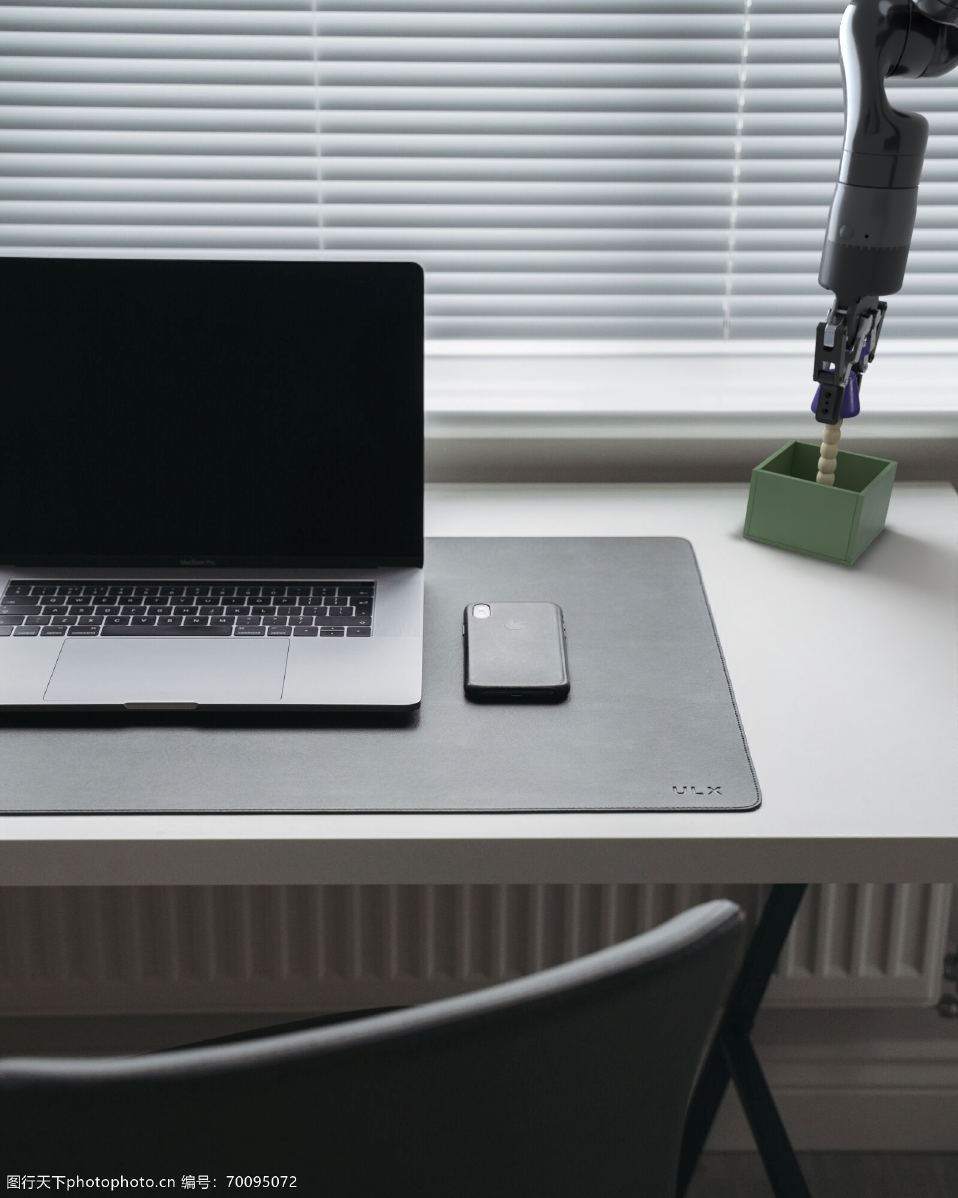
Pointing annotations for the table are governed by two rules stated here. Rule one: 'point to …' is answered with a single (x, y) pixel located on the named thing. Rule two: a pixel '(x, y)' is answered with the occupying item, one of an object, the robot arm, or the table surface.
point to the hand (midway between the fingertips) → (835, 414)
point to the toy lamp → (835, 430)
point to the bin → (819, 502)
